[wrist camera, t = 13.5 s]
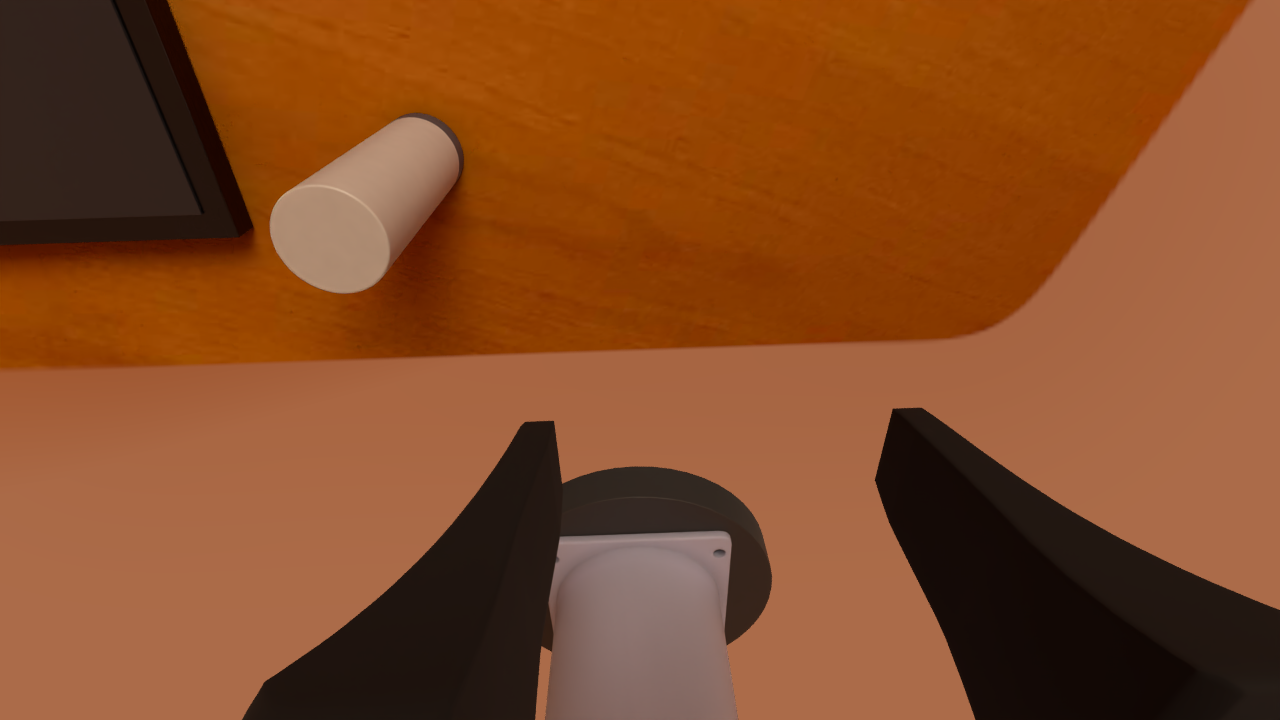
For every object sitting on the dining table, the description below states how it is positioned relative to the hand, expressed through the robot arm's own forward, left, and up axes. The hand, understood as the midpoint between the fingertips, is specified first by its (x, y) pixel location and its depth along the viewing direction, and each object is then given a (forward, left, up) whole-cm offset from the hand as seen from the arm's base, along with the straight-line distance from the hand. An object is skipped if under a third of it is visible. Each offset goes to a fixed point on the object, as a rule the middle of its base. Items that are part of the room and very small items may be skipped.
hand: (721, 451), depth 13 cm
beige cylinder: (+4, +8, -9) cm, 13 cm away
